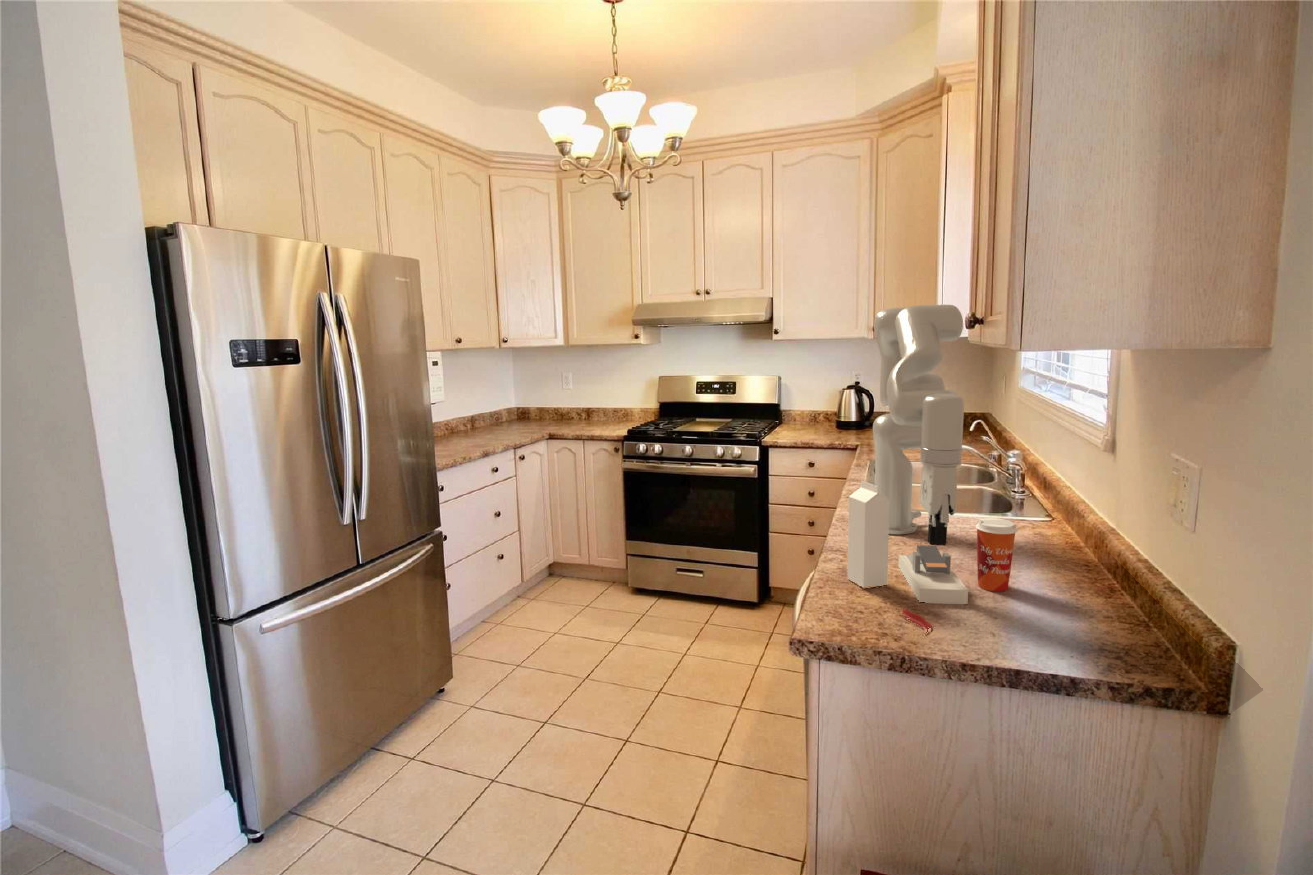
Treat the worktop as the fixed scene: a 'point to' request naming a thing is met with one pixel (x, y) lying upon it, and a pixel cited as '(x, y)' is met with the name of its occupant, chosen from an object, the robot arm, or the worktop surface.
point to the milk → (868, 536)
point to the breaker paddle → (932, 559)
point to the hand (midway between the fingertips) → (936, 543)
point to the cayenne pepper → (916, 619)
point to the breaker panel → (933, 581)
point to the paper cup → (994, 553)
